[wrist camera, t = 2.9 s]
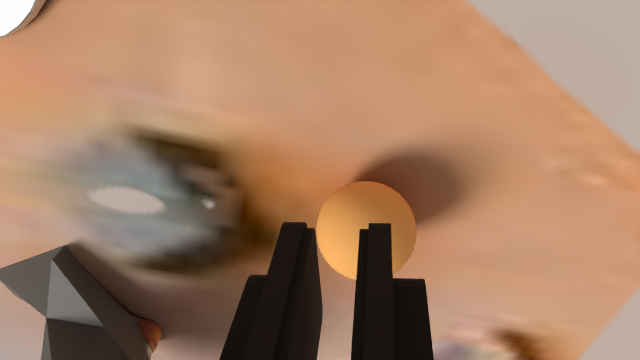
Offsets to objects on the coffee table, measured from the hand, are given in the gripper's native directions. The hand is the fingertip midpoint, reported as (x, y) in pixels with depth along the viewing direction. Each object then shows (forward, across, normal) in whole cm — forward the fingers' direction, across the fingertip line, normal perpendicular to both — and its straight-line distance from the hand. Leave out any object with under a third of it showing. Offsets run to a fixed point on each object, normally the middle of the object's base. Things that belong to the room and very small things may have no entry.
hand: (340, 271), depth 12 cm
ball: (+14, 0, +10) cm, 17 cm away
